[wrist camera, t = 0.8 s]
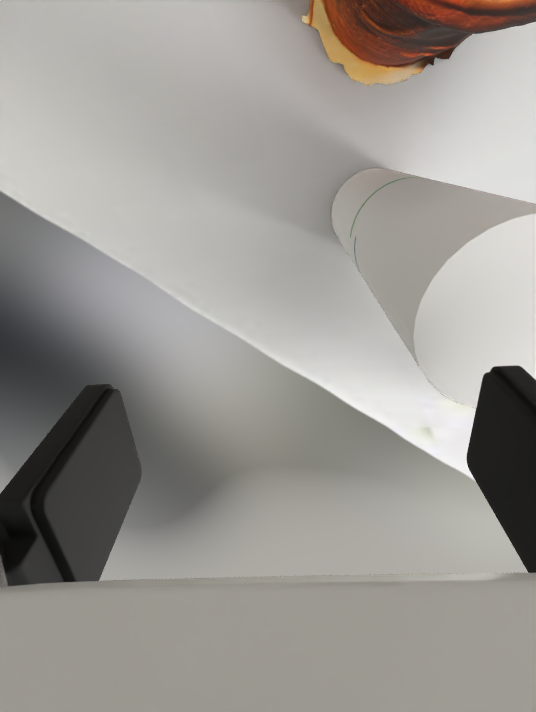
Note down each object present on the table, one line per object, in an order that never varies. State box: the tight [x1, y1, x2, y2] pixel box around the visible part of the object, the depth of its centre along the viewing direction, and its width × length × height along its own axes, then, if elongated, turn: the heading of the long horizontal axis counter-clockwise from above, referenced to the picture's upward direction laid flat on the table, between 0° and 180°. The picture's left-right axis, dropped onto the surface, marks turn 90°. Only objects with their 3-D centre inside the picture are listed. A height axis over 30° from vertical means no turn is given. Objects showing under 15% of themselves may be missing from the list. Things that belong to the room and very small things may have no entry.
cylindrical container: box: [331, 168, 536, 408], centre depth 25 cm, size 7×7×25 cm
